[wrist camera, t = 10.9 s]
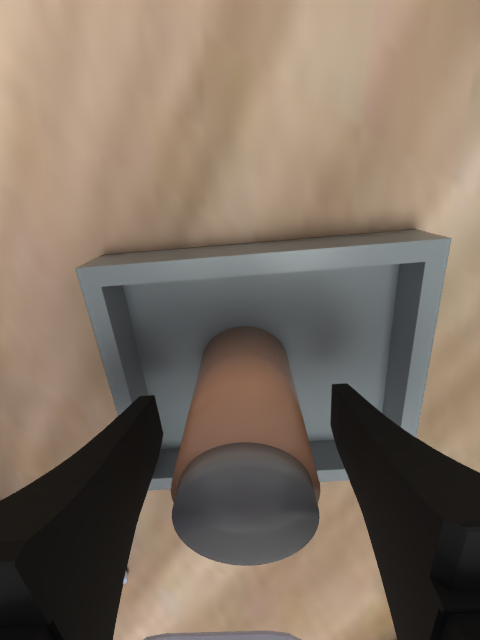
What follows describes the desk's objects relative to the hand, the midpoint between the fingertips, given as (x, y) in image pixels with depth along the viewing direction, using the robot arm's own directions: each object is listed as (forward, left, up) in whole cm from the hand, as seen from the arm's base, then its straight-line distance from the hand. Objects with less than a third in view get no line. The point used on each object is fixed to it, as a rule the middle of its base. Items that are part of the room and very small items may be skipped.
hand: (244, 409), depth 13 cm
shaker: (0, 0, -3) cm, 3 cm away
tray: (+1, 0, -4) cm, 4 cm away
